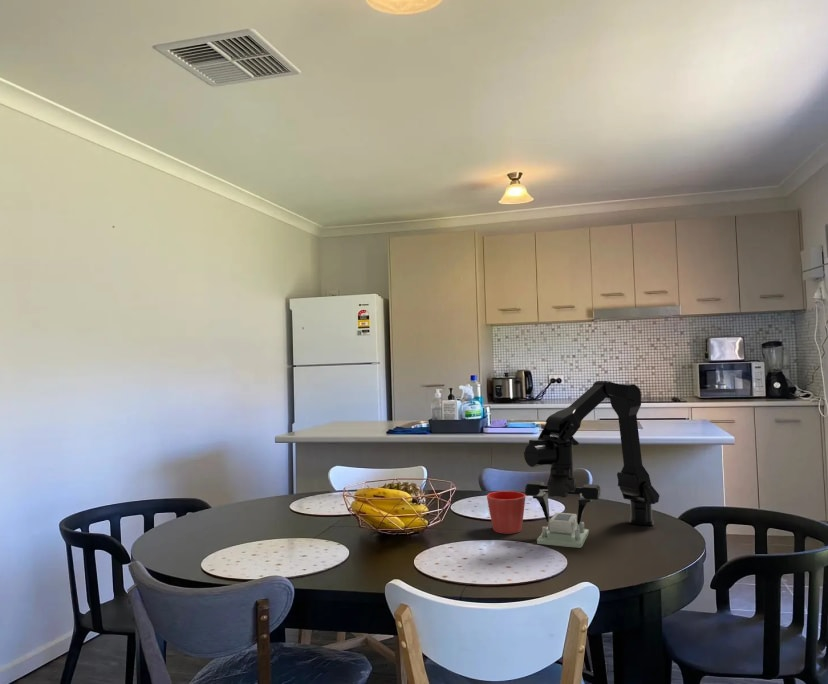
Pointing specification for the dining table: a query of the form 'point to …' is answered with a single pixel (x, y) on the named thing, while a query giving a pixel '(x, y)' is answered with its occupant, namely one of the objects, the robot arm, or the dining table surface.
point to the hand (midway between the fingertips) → (563, 522)
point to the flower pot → (506, 511)
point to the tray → (563, 537)
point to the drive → (563, 524)
